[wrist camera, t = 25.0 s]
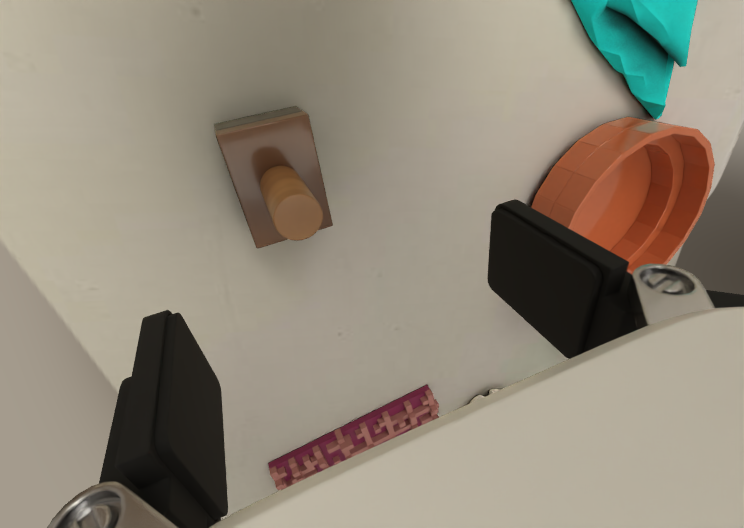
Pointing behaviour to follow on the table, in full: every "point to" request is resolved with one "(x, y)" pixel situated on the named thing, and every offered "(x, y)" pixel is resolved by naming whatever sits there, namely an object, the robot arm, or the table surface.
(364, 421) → the maroon lattice panel
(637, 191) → the bowl
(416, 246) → the table surface
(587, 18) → the cloth
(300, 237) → the stamp
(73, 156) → the table surface
